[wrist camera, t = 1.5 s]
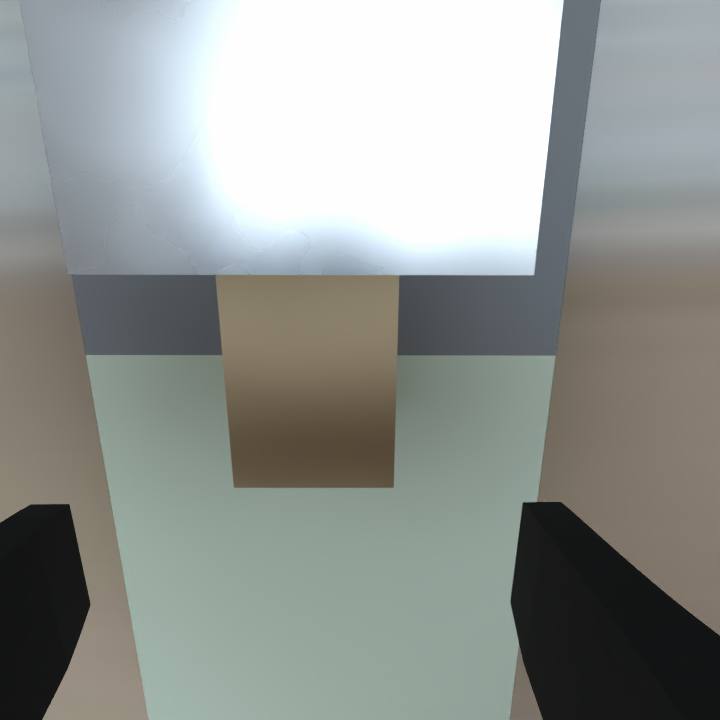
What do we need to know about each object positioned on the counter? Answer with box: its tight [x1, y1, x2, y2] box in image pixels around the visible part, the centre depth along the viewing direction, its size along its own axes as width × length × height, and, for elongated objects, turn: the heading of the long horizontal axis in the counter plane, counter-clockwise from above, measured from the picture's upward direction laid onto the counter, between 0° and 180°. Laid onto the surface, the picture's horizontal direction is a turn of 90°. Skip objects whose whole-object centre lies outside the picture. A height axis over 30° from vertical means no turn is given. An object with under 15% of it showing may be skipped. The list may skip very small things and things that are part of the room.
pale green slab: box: [72, 0, 601, 720], centre depth 18 cm, size 38×14×2 cm, turn 0°
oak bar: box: [216, 275, 399, 488], centre depth 15 cm, size 15×4×4 cm, turn 0°
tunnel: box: [19, 0, 564, 275], centre depth 13 cm, size 6×9×6 cm
